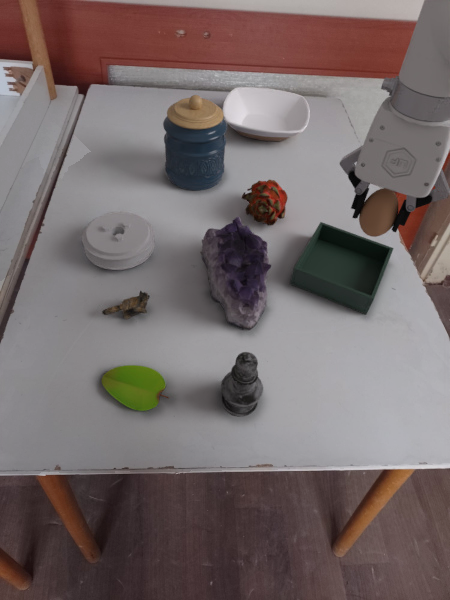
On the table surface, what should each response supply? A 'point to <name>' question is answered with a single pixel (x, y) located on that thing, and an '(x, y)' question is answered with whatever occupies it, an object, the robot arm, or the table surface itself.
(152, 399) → the decorative leaf
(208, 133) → the canister
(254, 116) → the bowl
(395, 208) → the egg
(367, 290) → the box
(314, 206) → the table surface
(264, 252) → the geode
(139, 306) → the cat figurine
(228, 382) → the grey tall stone piece
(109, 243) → the lid
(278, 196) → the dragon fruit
